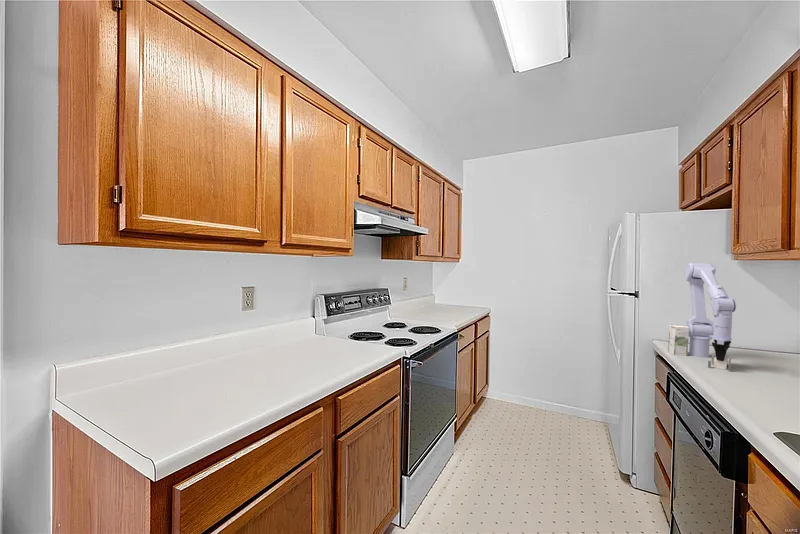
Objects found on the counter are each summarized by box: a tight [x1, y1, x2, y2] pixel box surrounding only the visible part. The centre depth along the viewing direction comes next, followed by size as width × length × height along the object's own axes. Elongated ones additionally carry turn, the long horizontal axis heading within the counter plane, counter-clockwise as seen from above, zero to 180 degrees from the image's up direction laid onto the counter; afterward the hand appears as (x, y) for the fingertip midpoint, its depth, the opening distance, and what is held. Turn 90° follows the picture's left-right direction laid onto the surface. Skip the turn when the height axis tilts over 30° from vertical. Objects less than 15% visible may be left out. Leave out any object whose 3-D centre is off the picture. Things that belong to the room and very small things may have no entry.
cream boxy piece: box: [711, 352, 732, 368], centre depth 157 cm, size 3×6×4 cm, turn 46°
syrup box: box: [667, 323, 690, 357], centre depth 174 cm, size 6×6×14 cm
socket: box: [707, 360, 733, 372], centre depth 151 cm, size 2×7×3 cm, turn 46°
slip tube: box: [712, 356, 729, 370], centre depth 155 cm, size 8×4×6 cm, turn 136°
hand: (720, 358), depth 155 cm, fingers open, 7 cm apart
